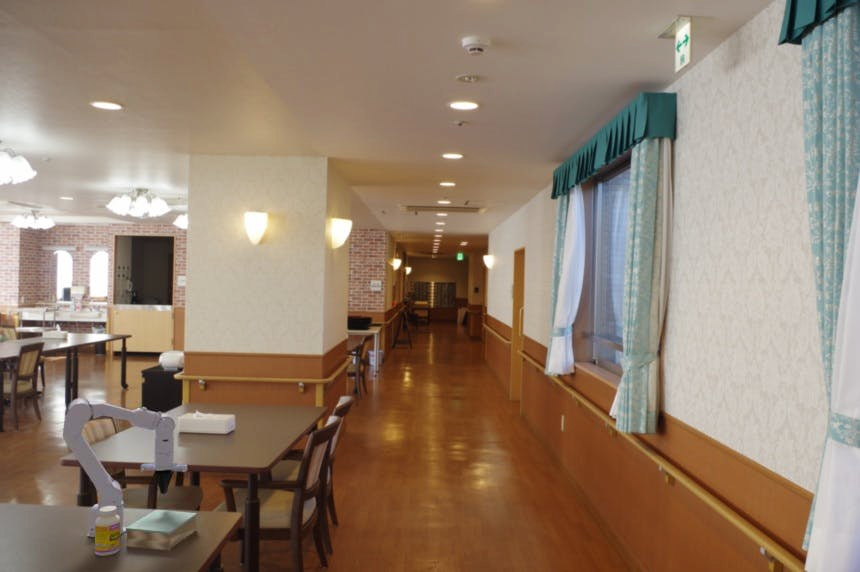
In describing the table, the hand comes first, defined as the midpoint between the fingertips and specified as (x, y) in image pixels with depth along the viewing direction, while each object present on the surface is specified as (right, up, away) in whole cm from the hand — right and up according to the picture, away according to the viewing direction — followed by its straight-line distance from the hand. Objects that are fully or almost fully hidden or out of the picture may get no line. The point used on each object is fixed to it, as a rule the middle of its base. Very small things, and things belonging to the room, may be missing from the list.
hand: (163, 492), depth 209 cm
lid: (+4, -6, -11) cm, 13 cm away
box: (+4, -11, -11) cm, 16 cm away
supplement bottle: (-8, -11, -21) cm, 25 cm away
